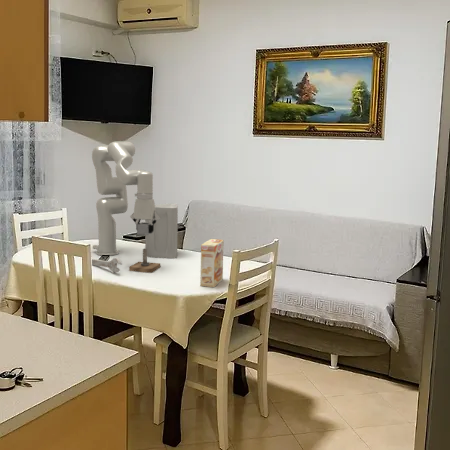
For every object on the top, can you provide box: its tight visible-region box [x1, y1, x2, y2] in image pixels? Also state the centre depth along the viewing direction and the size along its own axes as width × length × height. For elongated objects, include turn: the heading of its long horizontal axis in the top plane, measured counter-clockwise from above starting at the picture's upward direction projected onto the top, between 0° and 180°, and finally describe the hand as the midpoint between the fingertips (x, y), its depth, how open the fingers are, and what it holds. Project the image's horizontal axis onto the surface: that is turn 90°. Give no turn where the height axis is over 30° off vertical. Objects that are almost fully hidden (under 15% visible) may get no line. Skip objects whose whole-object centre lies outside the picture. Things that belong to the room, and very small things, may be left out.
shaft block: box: [128, 247, 161, 274], centre depth 298 cm, size 12×12×10 cm
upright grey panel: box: [144, 202, 179, 260], centre depth 326 cm, size 19×15×28 cm
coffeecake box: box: [199, 238, 225, 288], centre depth 275 cm, size 15×7×20 cm, turn 164°
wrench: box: [91, 257, 122, 274], centre depth 296 cm, size 8×2×30 cm
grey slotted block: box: [136, 221, 153, 236], centre depth 295 cm, size 6×6×5 cm
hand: (145, 231), depth 296 cm, fingers closed on grey slotted block, 6 cm apart
